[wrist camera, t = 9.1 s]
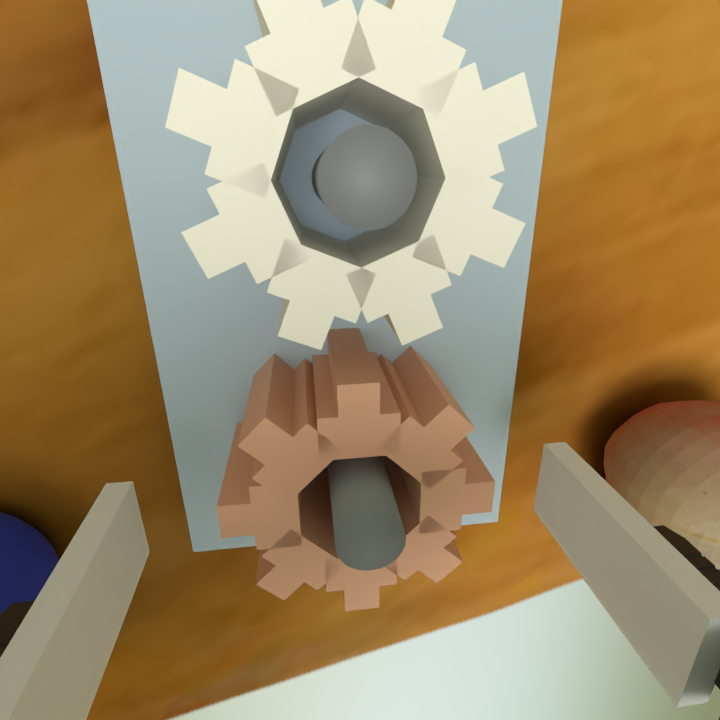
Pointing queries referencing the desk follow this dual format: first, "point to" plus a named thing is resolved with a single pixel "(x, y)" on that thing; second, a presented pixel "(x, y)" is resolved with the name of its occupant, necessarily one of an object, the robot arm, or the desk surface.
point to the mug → (23, 561)
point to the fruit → (672, 469)
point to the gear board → (323, 214)
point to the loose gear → (344, 441)
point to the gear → (379, 107)
